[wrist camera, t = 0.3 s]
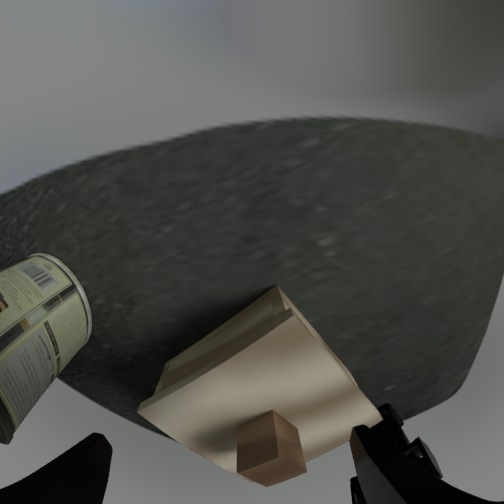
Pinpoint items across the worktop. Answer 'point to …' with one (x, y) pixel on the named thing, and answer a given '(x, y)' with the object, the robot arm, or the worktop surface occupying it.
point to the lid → (264, 404)
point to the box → (233, 337)
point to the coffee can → (37, 332)
